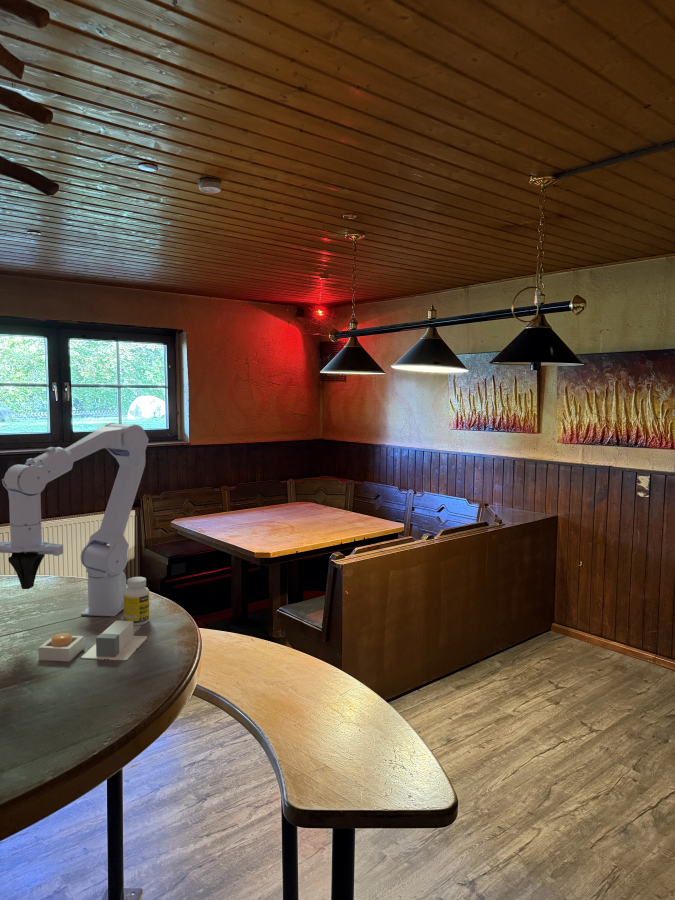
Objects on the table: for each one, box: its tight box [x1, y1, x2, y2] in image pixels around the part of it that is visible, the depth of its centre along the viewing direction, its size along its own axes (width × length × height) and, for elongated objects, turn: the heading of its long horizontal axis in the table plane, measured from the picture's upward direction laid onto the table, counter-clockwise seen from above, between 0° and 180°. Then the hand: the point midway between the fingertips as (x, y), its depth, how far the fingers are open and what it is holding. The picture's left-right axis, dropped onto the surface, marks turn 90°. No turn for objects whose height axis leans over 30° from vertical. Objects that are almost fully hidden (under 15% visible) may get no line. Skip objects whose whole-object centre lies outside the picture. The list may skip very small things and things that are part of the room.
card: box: [133, 625, 141, 635], centre depth 130 cm, size 4×6×1 cm, turn 87°
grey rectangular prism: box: [95, 619, 134, 657], centre depth 121 cm, size 9×4×4 cm, turn 176°
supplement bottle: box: [123, 576, 150, 626], centre depth 134 cm, size 5×5×10 cm
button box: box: [37, 635, 85, 662], centre depth 118 cm, size 6×6×2 cm
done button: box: [50, 632, 73, 647], centre depth 118 cm, size 4×4×3 cm
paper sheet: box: [80, 635, 149, 661], centre depth 121 cm, size 11×9×1 cm
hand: (27, 587), depth 125 cm, fingers closed
